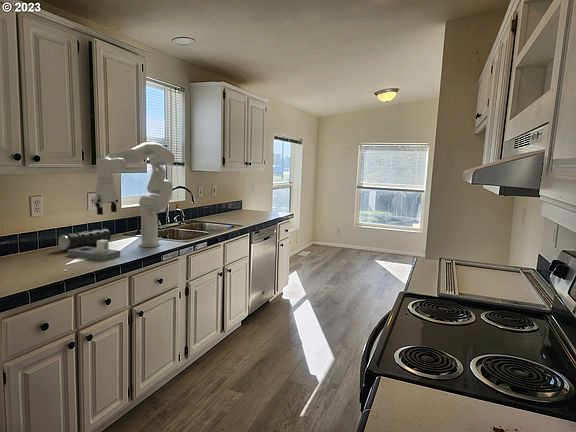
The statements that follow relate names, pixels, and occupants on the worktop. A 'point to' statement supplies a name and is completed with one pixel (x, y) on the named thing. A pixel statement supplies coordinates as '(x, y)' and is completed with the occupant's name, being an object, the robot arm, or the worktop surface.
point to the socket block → (93, 253)
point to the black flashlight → (83, 239)
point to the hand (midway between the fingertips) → (107, 213)
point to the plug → (102, 246)
